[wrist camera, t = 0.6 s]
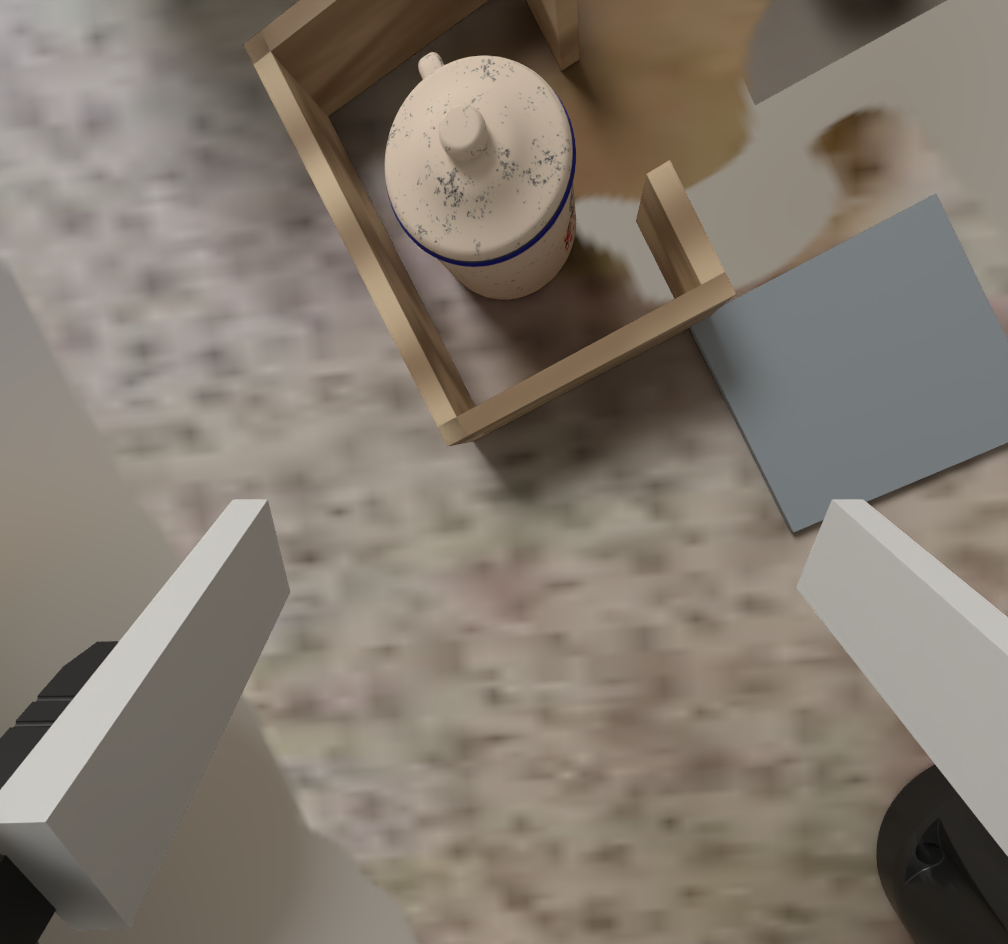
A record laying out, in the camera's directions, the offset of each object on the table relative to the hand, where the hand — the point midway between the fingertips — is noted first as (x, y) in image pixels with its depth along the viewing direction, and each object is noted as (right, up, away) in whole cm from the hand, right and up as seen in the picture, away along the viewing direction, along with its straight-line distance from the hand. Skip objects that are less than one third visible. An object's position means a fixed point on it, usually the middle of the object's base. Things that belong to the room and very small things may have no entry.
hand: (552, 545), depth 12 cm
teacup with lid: (-2, +18, +20) cm, 27 cm away
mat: (+19, +7, +17) cm, 27 cm away
